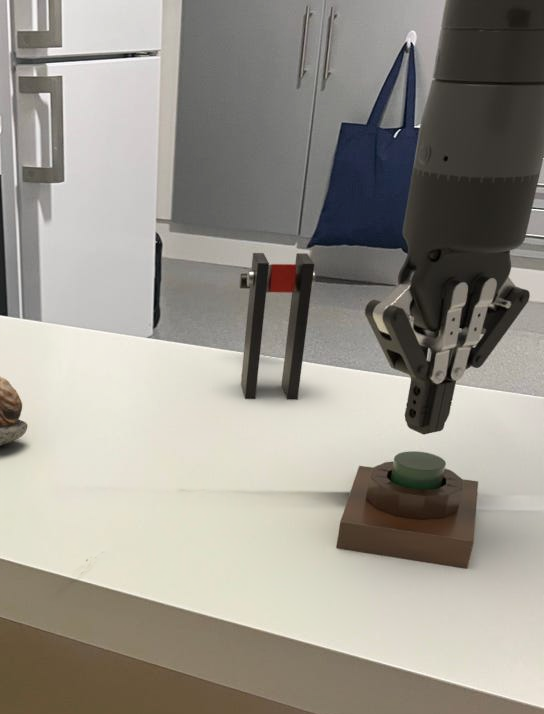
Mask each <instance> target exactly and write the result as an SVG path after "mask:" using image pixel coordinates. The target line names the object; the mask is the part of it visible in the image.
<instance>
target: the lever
mask: <svg viewBox="0 0 544 714" xmlns="http://www.w3.org/2000/svg"><path fill="white" fill-rule="evenodd" d="M247 275H248V273H240V276H239V289H245V290H246V289H249V290H250V286H247ZM295 276H296V264H295V263H291V264H290V263H285V264H284V263H271V264H269V270H268V279H267V289H266V294H269V293H270V294H271V293H276V294H278V293H280V294H290V293H291V294H292V293H293V292H294V289H295Z"/></svg>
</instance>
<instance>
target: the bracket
mask: <svg viewBox="0 0 544 714" xmlns="http://www.w3.org/2000/svg"><path fill="white" fill-rule="evenodd" d="M294 264H296V276H295V289H294V292H293V293H291V298H290V299H291V300H290V308H289V316H288V325H287V333H286V343H285V351H284V361H283V367H282V368H283V369H282V377H281V388H282V390H283V393H284V395H285V398H286V400H289V401H291V400H292V401H294V400H295V401H298V400H299V399H298V398H299V392H300V383H301V376H302V369H303V368H302V366H303V359H304V351H305V343H306V335H307V327H308V318H309V311H310V304H311V296H312V295H311V294H312V288H314V287H315V283H316V271H315V263H314V261H313V260H312V258H311V257H310V255H309V254H308V253H307V252H306V253H305V252H304V253H302V252H301V253H300V252H299V253H298V252H297V253H296V256H295V262H294ZM269 265H270V262H269V260H268V258H267V257H266V255H265V253H264V252H252V259H251V269H249V270H247V274H248V275H247V286H250V289H249V292H248V303H247V314H246V323H245V324H246V325H245V334H244V335H245V336H244V345H243V346H244V347H243V356H242V357H243V358H242V368H241V377H240V378H241V379H240V381H241V382H240V386H241V389H242V393H243V397H244V399H245V400H256V396H257V388H258V378H259V367H260V359H261V358H260V357H261V347H262V339H263V327H264V319H265V310H266V309H265V308H266V298H267V292H266V289H267V279H268V270H269Z"/></svg>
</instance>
